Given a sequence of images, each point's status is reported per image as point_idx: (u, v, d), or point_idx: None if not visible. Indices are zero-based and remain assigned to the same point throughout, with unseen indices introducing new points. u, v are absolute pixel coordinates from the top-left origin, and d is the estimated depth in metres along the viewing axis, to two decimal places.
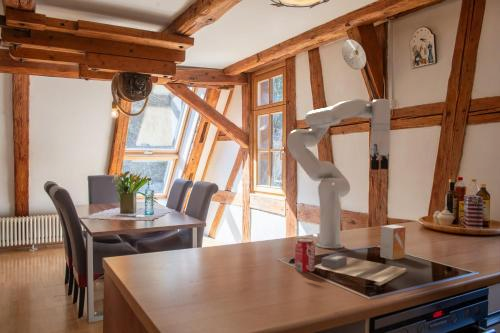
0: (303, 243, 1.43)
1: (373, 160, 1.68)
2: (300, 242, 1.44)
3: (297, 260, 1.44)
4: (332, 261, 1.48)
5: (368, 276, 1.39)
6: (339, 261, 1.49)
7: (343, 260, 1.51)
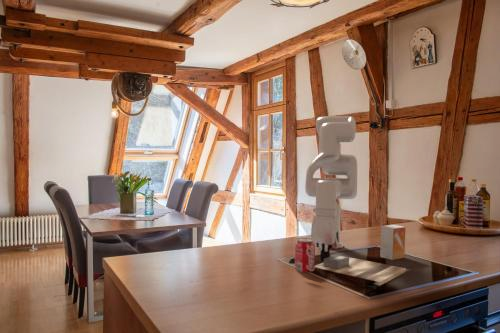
0: (303, 243, 1.43)
1: (328, 251, 1.53)
2: (300, 242, 1.44)
3: (297, 260, 1.44)
4: (334, 262, 1.47)
5: (368, 276, 1.39)
6: (341, 261, 1.48)
7: (345, 260, 1.50)
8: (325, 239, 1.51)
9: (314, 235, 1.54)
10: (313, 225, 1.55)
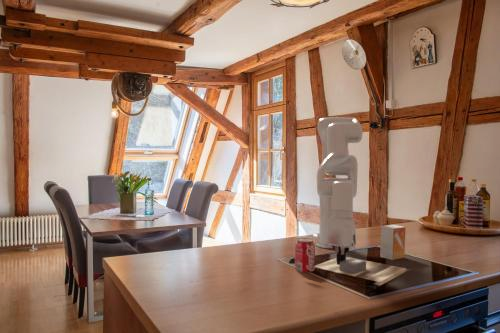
0: (303, 243, 1.43)
1: (344, 254, 1.49)
2: (300, 242, 1.44)
3: (297, 260, 1.44)
4: (351, 265, 1.43)
5: (368, 276, 1.39)
6: (358, 265, 1.43)
7: (362, 264, 1.45)
8: (342, 242, 1.46)
9: (330, 238, 1.50)
10: (329, 227, 1.50)
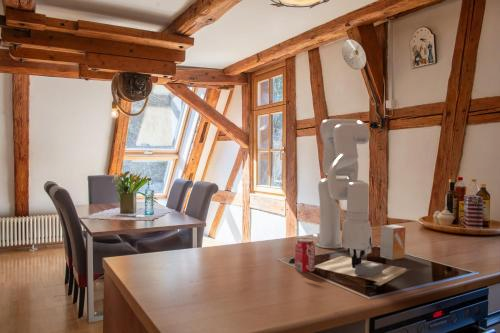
0: (303, 243, 1.43)
1: (360, 258, 1.45)
2: (300, 242, 1.44)
3: (297, 260, 1.44)
4: (367, 269, 1.38)
5: None
6: (374, 269, 1.39)
7: (378, 267, 1.41)
8: (357, 245, 1.42)
9: (345, 240, 1.46)
10: (344, 230, 1.46)
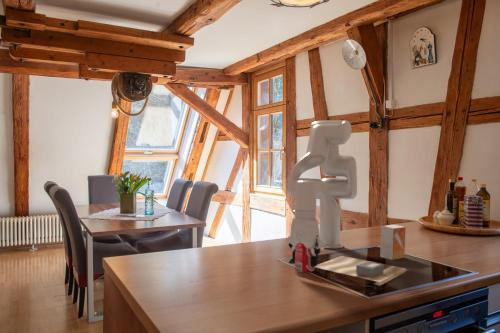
0: None
1: (316, 256, 1.43)
2: None
3: (297, 260, 1.44)
4: (368, 269, 1.38)
5: None
6: (375, 269, 1.39)
7: (379, 268, 1.41)
8: (304, 243, 1.43)
9: (293, 238, 1.46)
10: (292, 228, 1.47)
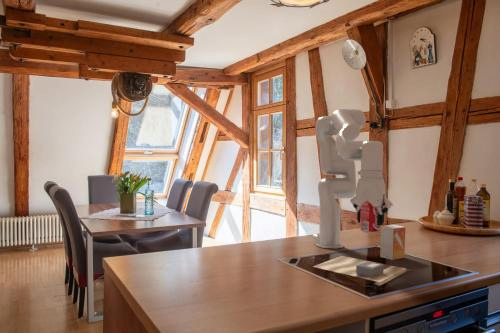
0: None
1: (382, 215, 1.45)
2: (366, 201, 1.47)
3: (363, 219, 1.47)
4: (368, 269, 1.38)
5: None
6: (375, 269, 1.39)
7: (379, 268, 1.41)
8: (371, 202, 1.46)
9: (359, 198, 1.49)
10: (358, 188, 1.49)
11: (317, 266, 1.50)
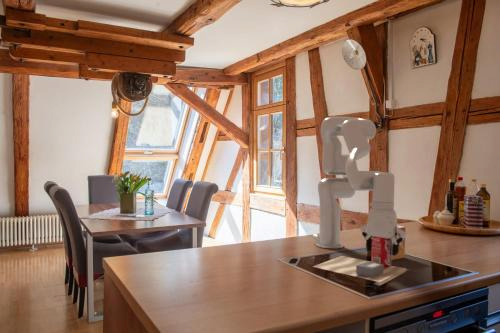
0: (381, 238, 1.47)
1: (397, 244, 1.46)
2: (378, 237, 1.48)
3: (375, 255, 1.48)
4: (368, 269, 1.38)
5: None
6: (375, 269, 1.39)
7: (379, 268, 1.41)
8: (383, 233, 1.47)
9: (371, 229, 1.50)
10: (370, 219, 1.50)
11: (317, 266, 1.50)
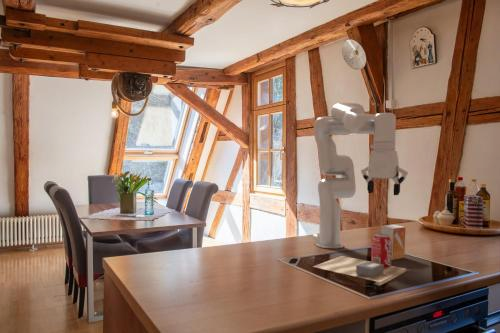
0: (381, 238, 1.47)
1: (399, 184, 1.45)
2: (378, 237, 1.48)
3: (375, 255, 1.48)
4: (368, 269, 1.38)
5: None
6: (375, 269, 1.39)
7: (379, 268, 1.41)
8: (385, 173, 1.46)
9: (372, 170, 1.49)
10: (371, 160, 1.49)
11: (317, 266, 1.50)
